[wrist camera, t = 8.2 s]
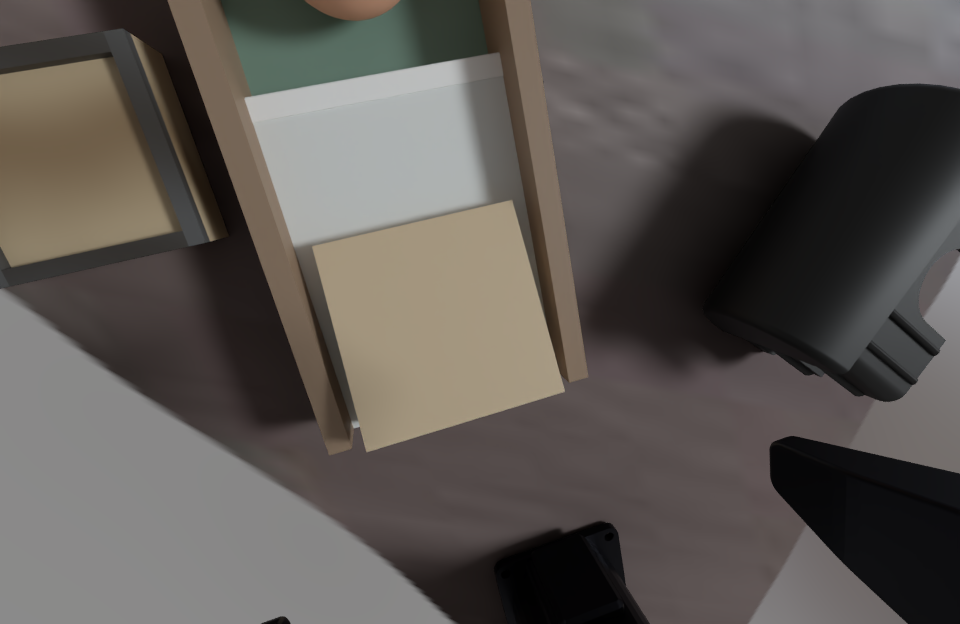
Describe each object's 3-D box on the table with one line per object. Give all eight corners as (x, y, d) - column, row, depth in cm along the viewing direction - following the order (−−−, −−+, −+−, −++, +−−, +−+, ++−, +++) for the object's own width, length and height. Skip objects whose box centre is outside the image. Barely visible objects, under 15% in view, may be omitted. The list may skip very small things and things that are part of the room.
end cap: (793, 102, 20) (986, 59, 14) (880, 193, 22) (1083, 192, 16) (664, 293, 21) (789, 335, 15) (760, 362, 23) (906, 425, 17)
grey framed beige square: (229, 236, 16) (205, 242, 14) (46, 276, 16) (-10, 290, 13) (161, 54, 15) (122, 28, 12) (-48, 87, 14) (-131, 66, 12)
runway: (559, 352, 20) (613, 398, 16) (336, 416, 19) (323, 489, 14) (466, -187, 15) (508, -363, 10) (141, -156, 13) (14, -346, 9)
